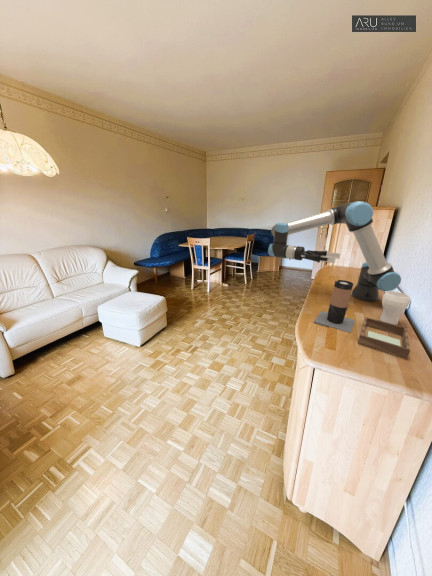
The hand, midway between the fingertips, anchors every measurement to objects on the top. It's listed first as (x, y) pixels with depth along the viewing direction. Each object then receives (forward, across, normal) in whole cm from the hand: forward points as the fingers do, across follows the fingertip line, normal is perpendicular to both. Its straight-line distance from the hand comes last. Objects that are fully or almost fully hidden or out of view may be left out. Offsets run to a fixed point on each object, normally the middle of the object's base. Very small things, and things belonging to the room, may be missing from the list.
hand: (337, 258), depth 115 cm
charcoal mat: (+6, +12, -30) cm, 32 cm away
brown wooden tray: (+25, +17, -30) cm, 43 cm away
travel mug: (+6, +12, -29) cm, 32 cm away
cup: (+28, -8, -31) cm, 42 cm away
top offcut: (+25, +23, -28) cm, 44 cm away
